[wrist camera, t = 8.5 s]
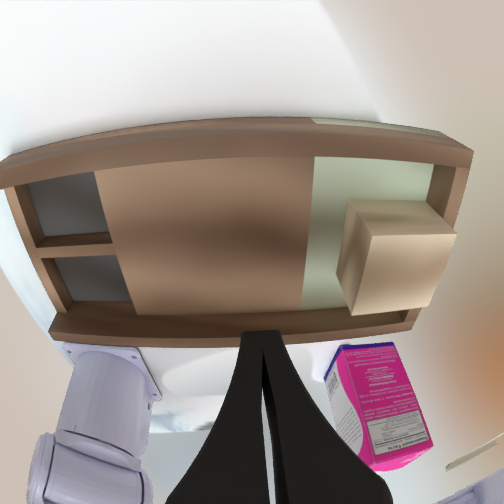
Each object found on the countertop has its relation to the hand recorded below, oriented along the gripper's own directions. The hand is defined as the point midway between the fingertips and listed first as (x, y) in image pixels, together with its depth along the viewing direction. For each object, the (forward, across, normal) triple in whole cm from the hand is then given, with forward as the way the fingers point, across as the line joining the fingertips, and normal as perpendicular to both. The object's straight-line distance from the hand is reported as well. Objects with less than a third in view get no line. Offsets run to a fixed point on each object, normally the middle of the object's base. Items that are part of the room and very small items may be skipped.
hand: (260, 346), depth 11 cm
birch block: (+7, -8, 0) cm, 10 cm away
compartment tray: (+8, +2, 0) cm, 9 cm away
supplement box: (+9, -10, +15) cm, 20 cm away
